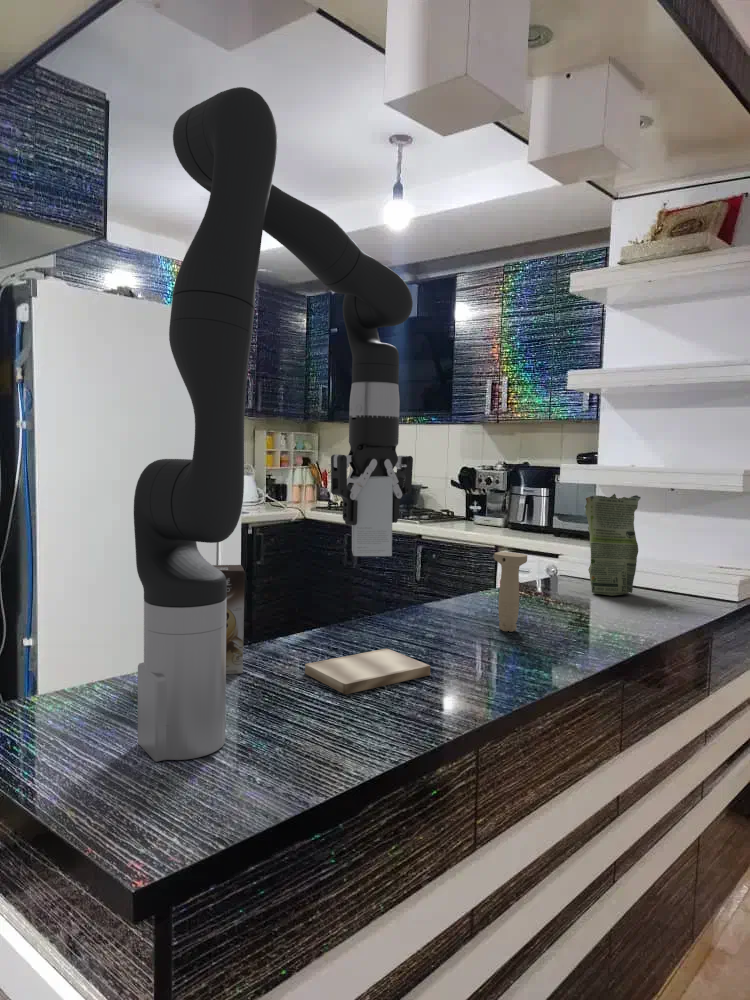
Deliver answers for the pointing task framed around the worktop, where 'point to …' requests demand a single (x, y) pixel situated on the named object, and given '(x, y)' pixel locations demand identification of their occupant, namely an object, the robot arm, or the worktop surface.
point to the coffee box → (234, 617)
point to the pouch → (612, 543)
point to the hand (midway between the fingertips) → (371, 523)
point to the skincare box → (374, 518)
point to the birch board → (366, 670)
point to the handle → (509, 588)
